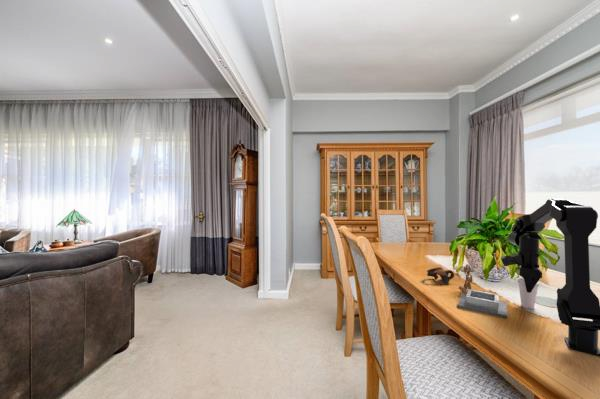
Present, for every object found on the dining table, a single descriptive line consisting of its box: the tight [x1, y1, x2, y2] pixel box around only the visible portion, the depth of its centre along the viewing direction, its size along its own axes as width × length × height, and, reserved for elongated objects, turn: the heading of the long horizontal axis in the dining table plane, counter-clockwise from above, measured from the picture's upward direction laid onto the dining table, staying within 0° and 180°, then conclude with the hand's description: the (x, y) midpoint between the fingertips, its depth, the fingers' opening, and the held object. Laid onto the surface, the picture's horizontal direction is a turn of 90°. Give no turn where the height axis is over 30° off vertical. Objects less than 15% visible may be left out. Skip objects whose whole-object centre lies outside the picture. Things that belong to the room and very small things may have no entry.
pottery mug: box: [426, 266, 455, 286], centre depth 131 cm, size 12×10×8 cm
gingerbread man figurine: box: [458, 263, 473, 294], centre depth 118 cm, size 9×4×12 cm, turn 168°
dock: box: [457, 288, 508, 319], centre depth 103 cm, size 15×15×4 cm
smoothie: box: [517, 278, 540, 310], centre depth 102 cm, size 6×6×14 cm
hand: (527, 289), depth 102 cm, fingers closed on smoothie, 6 cm apart
